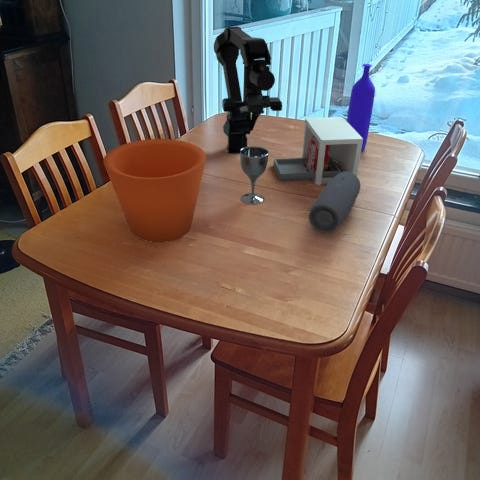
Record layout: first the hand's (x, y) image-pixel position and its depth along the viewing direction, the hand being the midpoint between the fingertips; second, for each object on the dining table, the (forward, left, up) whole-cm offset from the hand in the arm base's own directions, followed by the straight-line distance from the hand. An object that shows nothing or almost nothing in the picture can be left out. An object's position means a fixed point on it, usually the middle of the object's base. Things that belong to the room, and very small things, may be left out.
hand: (251, 130), depth 157 cm
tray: (+18, -8, -12) cm, 23 cm away
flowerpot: (-30, -38, -12) cm, 50 cm away
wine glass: (-3, -25, -12) cm, 28 cm away
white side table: (+25, -8, -12) cm, 29 cm away
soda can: (+21, -9, -12) cm, 26 cm away
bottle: (+41, +11, -12) cm, 44 cm away
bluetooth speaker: (+18, -38, -12) cm, 44 cm away
